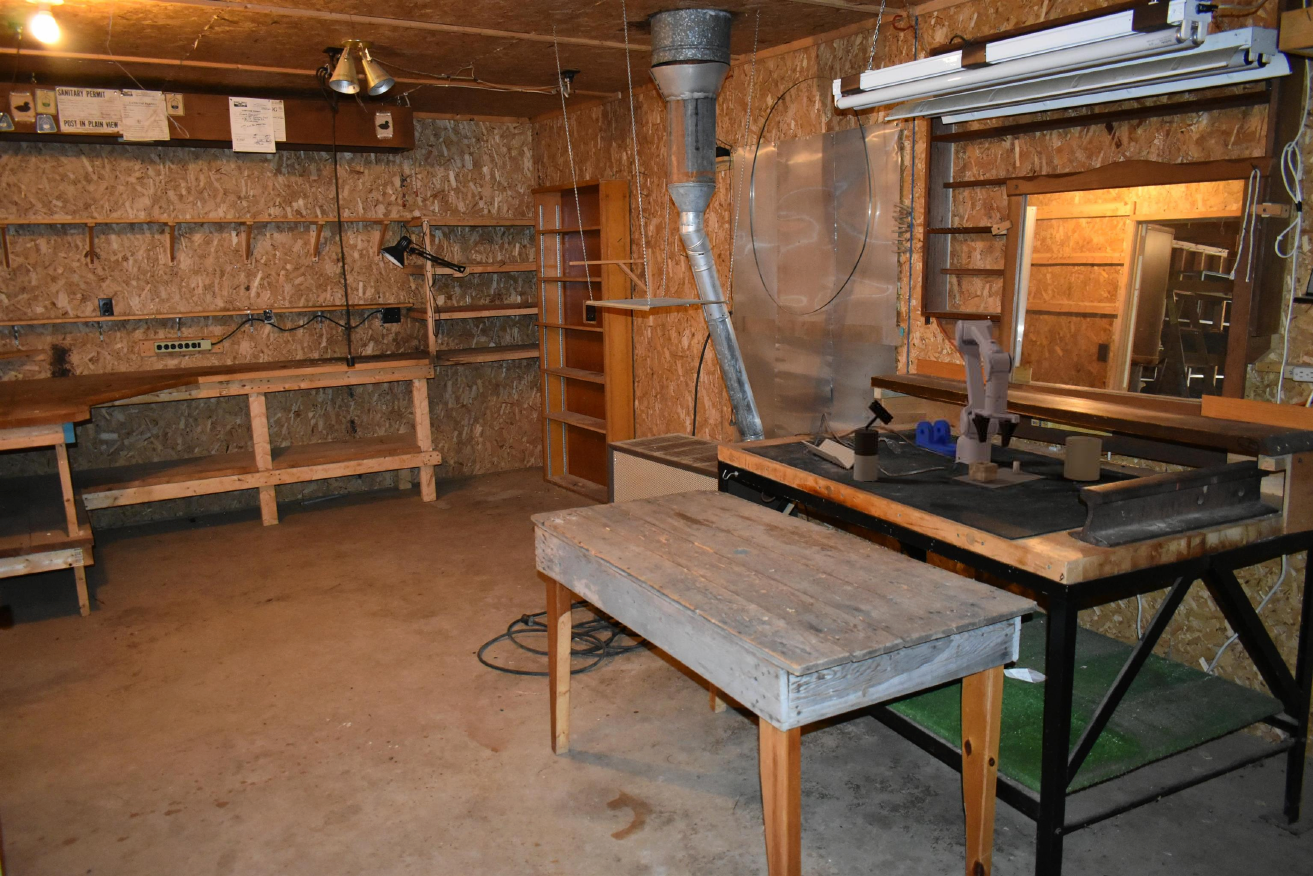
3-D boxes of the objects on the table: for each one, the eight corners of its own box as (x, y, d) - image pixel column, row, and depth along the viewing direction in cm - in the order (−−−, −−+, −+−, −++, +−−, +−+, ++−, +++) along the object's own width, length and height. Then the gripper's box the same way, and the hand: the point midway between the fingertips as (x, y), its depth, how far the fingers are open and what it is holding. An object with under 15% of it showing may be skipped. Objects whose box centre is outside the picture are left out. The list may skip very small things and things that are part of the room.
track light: (869, 492, 258) (918, 440, 258) (829, 453, 254) (879, 400, 253) (860, 487, 264) (908, 436, 264) (821, 448, 260) (870, 396, 260)
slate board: (951, 481, 256) (952, 464, 255) (1004, 471, 267) (1005, 454, 266) (992, 491, 244) (993, 474, 243) (1046, 480, 255) (1047, 463, 254)
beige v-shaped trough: (826, 465, 298) (839, 451, 298) (860, 483, 274) (874, 467, 275) (801, 441, 295) (814, 426, 295) (834, 456, 271) (848, 441, 271)
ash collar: (968, 477, 253) (969, 463, 252) (981, 474, 255) (982, 460, 254) (983, 481, 248) (984, 466, 247) (996, 478, 251) (997, 464, 250)
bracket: (915, 446, 304) (916, 420, 302) (937, 444, 306) (938, 418, 304) (948, 457, 287) (950, 429, 285) (971, 455, 289) (972, 427, 288)
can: (1078, 485, 249) (1081, 441, 247) (1055, 477, 258) (1058, 435, 256) (1107, 482, 252) (1110, 439, 249) (1083, 475, 260) (1086, 433, 258)
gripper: (965, 394, 259) (963, 442, 262) (1008, 400, 247) (1005, 450, 250) (982, 392, 263) (980, 439, 266) (1025, 398, 251) (1022, 447, 253)
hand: (993, 444), depth 258 cm, fingers open, 7 cm apart
